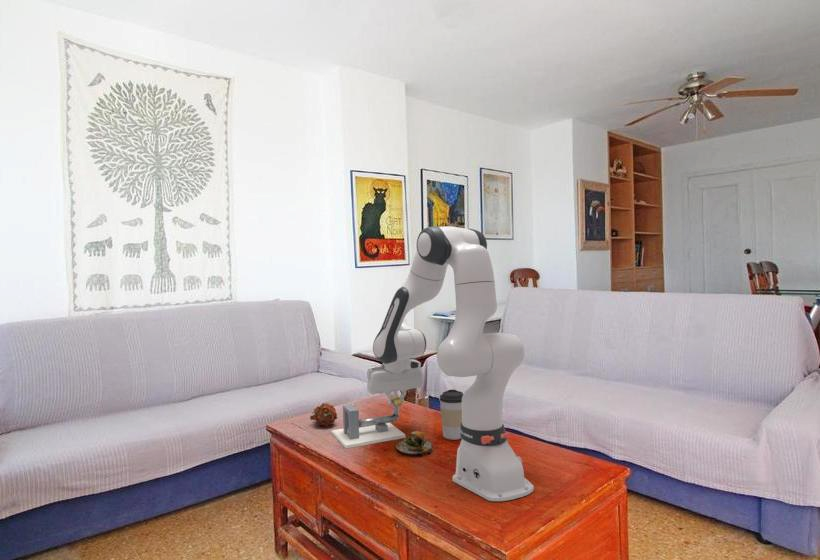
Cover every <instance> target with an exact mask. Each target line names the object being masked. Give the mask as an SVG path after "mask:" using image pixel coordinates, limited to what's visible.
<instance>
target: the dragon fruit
mask: <svg viewBox="0 0 820 560" xmlns="http://www.w3.org/2000/svg"><path fill="white" fill-rule="evenodd" d="M313 410H314V411H313V412H311V414H312V415H310V416H309V419H310V420H311V421H315V425H317V426H323V427H330V426H331V425H332V424H334V422H335V421H336V420H337V419H338V413H337V411H336V408H335V406H333V405H332V404H331V405H330V404H329V403H325V402H323V403H322V404H321V405H320V406H316V407H315V408H314V409H313Z"/></svg>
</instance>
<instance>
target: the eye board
mask: <svg viewBox="0 0 820 560" xmlns="http://www.w3.org/2000/svg"><path fill="white" fill-rule="evenodd" d="M342 416H343V417H342V418H343V419H342V421H343V428H337V429H332V430H331V435H333V437H334V438H335V439H336V440H337V442H339V443H340V444H341V445H342V446H343V447H344V448H345V449H346V450H347V449H351V448H357V447H363V446H368V445H372V444H378V443H385V442H389V441H396V440H400V439H405V438H406V436H407V434H406V433H404V432H403V431H401V430H400V429H399V428H397V427H396V426H395V425H393V424H392V422H391V423H385V424H379V425H373V426H367V427H361V428H359V420H360V419H359V418H360V417H359V409H358V408H356V406H354V405H353V404H352V403H350V404H344V405H342ZM347 427H349V435H348V434H347Z"/></svg>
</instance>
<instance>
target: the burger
mask: <svg viewBox="0 0 820 560" xmlns="http://www.w3.org/2000/svg"><path fill="white" fill-rule="evenodd" d="M420 430H421V425H420V427H419V430H414V431H412V432H411V433H410V437H409V436H408V435H406V438H404V439H403V440H399V441H398V442H397V443H396V444H395V445H394V446H395V448H396V449H397V450H398V451H400V452H401V453H404V454H408V455H421V457H426V456H428V453H430V454H432V453H433V451H434V447H433V446H434V444H432V442H431V441H429V440H426V439H425V436H424V434H423V433H422V432H421V431H420Z"/></svg>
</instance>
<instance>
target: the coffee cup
mask: <svg viewBox="0 0 820 560" xmlns="http://www.w3.org/2000/svg"><path fill="white" fill-rule="evenodd" d="M463 394H464V392H462V391H459V390H456V389H448V390H446V391H443V392H442V393H441V394H440V396H439V399H438V400H439V403H440V408H439V409H440V417H441V418H440V419H441V425H442V436H443V438H445V439H447V440H460V439H461V440H462V438H461V436H460V427H461V422H462V396H463Z"/></svg>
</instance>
